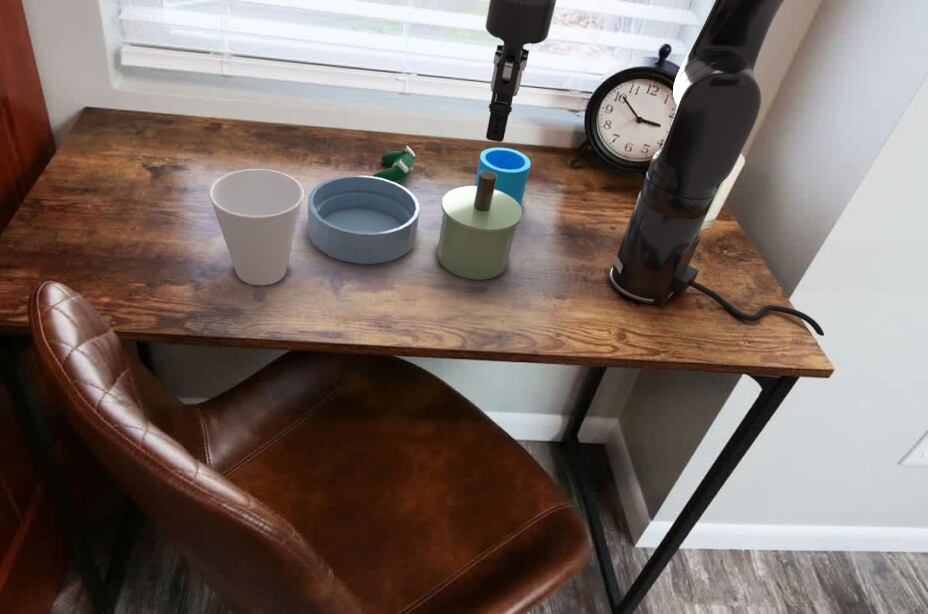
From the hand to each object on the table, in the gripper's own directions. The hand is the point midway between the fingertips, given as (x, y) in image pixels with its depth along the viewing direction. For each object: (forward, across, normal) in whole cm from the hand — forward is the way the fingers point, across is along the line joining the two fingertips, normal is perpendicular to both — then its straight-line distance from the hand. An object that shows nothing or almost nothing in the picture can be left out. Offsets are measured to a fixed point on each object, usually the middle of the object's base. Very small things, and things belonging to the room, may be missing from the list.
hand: (497, 125), depth 91 cm
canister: (+21, 0, 0) cm, 21 cm away
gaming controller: (+21, +20, +16) cm, 33 cm away
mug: (+21, +19, -2) cm, 28 cm away
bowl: (+21, +1, +17) cm, 27 cm away
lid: (+13, 0, 0) cm, 13 cm away
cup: (+21, -13, +28) cm, 37 cm away
